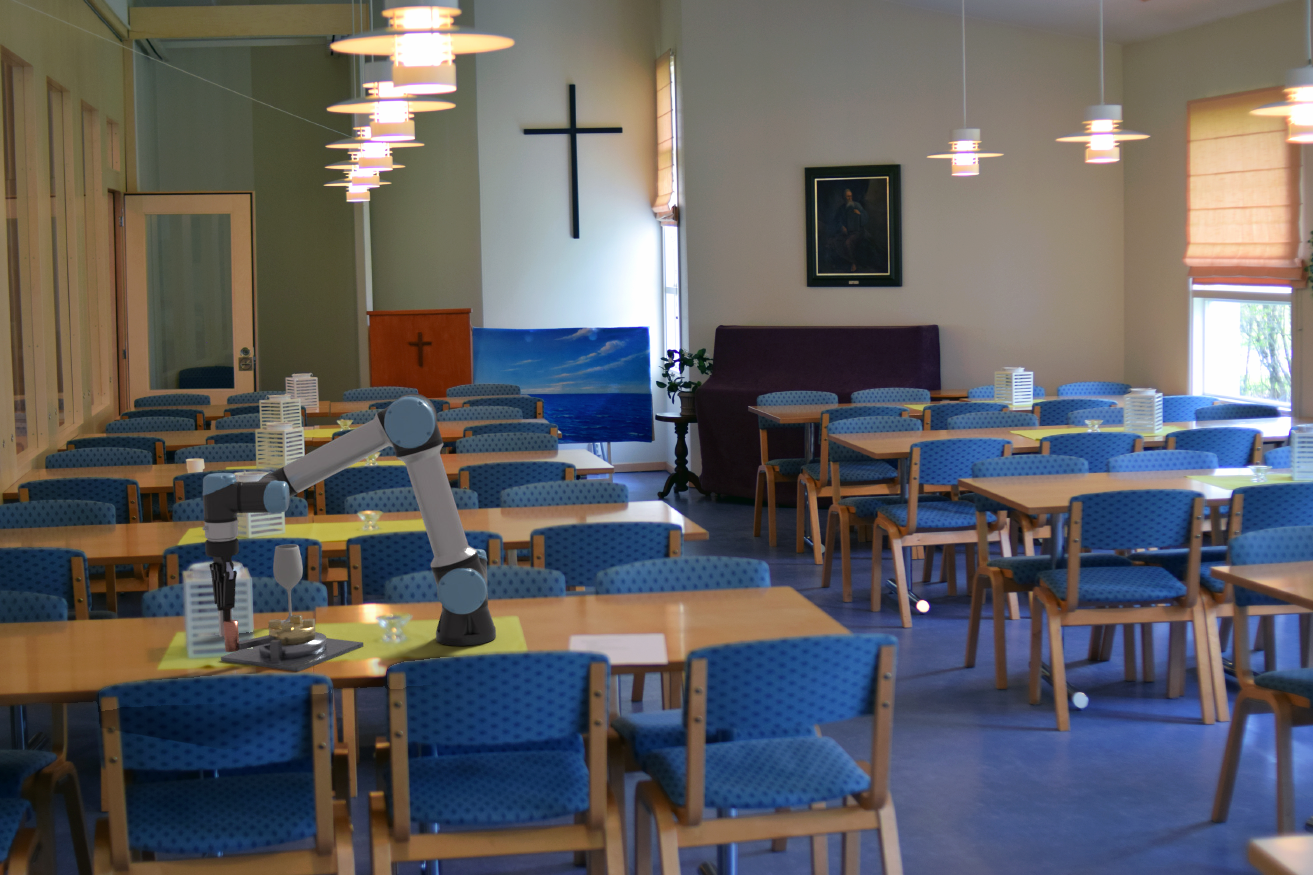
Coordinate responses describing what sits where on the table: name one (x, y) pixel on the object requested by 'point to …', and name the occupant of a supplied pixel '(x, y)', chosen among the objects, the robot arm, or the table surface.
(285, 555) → the wineglass
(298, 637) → the tan handled round piece
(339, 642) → the housing
